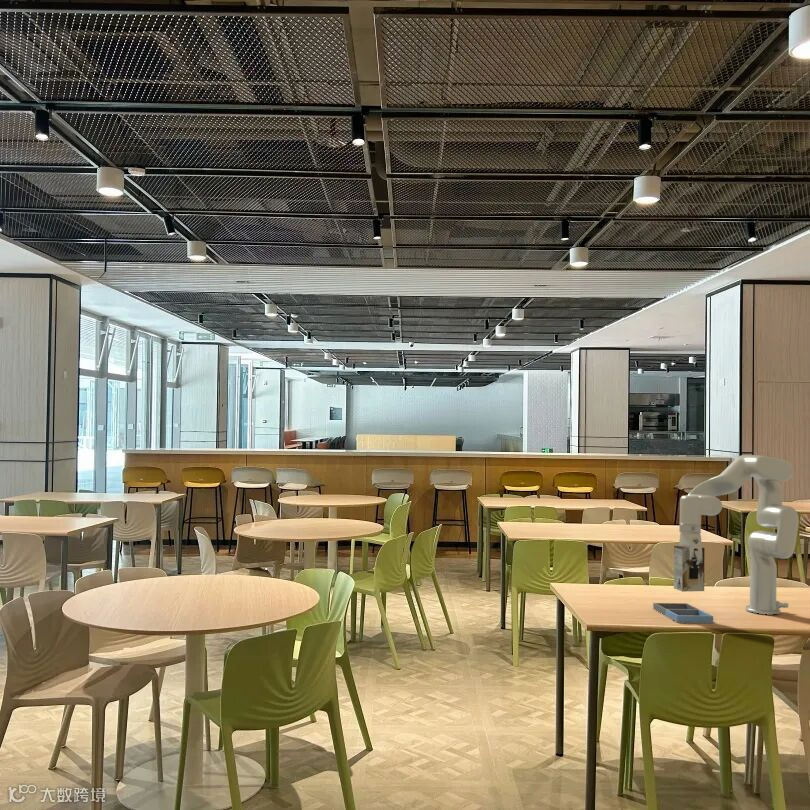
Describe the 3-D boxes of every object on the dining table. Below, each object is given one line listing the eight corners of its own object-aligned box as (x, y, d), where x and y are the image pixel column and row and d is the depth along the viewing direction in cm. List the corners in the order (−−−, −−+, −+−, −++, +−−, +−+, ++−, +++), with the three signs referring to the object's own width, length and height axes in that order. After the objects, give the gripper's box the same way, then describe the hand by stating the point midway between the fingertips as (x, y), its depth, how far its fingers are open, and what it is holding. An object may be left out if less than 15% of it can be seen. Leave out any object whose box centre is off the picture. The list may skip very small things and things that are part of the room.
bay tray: (686, 609, 311) (686, 603, 312) (713, 623, 290) (713, 616, 290) (653, 609, 310) (653, 602, 310) (677, 622, 289) (677, 615, 289)
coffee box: (695, 588, 299) (696, 545, 300) (704, 591, 293) (705, 548, 293) (672, 588, 297) (673, 545, 298) (682, 591, 291) (682, 547, 292)
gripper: (710, 532, 288) (709, 581, 287) (689, 526, 305) (688, 573, 304) (690, 531, 287) (689, 581, 286) (670, 525, 304) (669, 572, 304)
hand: (689, 576), depth 295 cm, fingers closed on coffee box, 6 cm apart
